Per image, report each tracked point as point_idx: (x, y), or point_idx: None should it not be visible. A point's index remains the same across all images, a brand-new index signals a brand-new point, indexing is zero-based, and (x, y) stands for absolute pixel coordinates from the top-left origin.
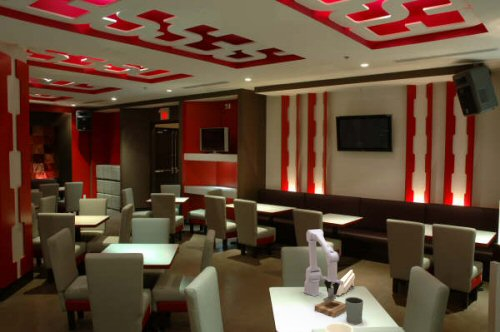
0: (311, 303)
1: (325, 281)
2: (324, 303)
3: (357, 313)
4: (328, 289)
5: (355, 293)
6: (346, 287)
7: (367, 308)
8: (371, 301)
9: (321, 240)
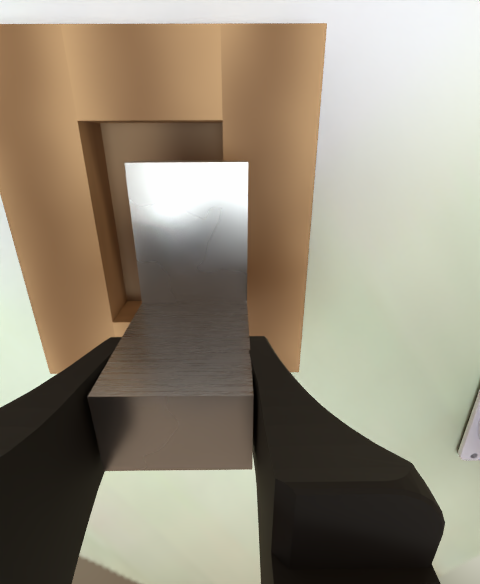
0: (444, 207)
1: (403, 560)
2: (263, 213)
3: None
4: (241, 372)
5: (244, 578)
6: None
7: None
8: (82, 548)
9: None
